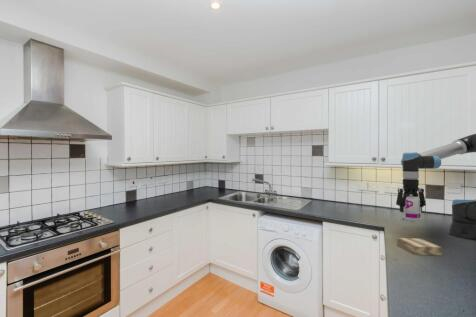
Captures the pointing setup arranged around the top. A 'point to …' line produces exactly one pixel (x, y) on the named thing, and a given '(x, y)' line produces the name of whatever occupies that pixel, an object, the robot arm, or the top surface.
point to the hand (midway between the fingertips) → (411, 217)
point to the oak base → (419, 246)
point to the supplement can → (412, 209)
